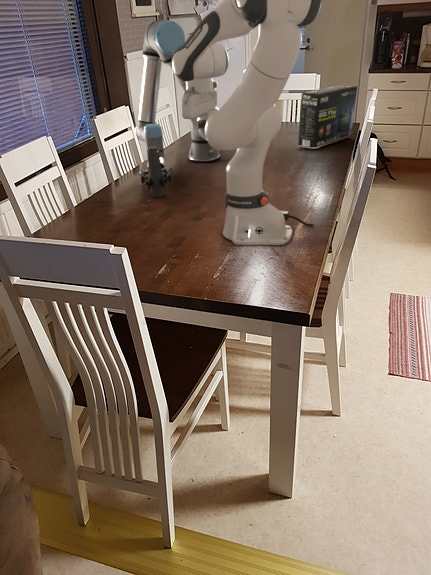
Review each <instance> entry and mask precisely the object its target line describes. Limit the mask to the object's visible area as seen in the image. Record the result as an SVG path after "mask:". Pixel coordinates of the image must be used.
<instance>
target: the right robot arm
mask: <svg viewBox="0 0 431 575" xmlns="http://www.w3.org/2000/svg"><path fill="white" fill-rule="evenodd" d="M321 6H322V0H222V2H220V4H219V5H217V6H216V7H215V8H214V9H213V10H211V11H210V12H209V13H208V14H207V15H206V16H204V18H202V20H201V21H200V23H198V25H197V26H196V28H195V29H194V30H193V31H192V32H190V33H187V34H185V43H184V44H183V45H181V46H179V47H178V48H177V49H176V50H175V52H174V54H173V56H172V69H173V72H174V73H175V75H176V76H177V77H178V78H179V79H180V80H182V81H183V82H186V90H185V93H184V92H183V95H182V96H181V97H182V98H181V116H182V117H181V118H182V119H183V120H190V119H191V121H192V124H193V129H194V130H198V129H199V128H200V127H199V124H198V121H197V120H198V116H200V115H203V120H206V121H207V122H206V125H205V136H206V139H207V141H208V143H209V144H210V146H211V147H212V148H214V149H215V150H218V151H233V150H236V151H235V153H234V155H233V157H232V158H231V159H230V160H229V162H228V163H227V164H226V168H225V177H226V178H225V179H226V180H225V183H226V190H225V194H224V205H225V209H226V210H225V218H224V219H225V220H224V226H223V229H222V235H223V237H225V239H228V240H230V241H232V243H233V244H234V245H236V246H283V245H286V244H288V243H289V242H290V240H291V239H292V237H293V228H292V227H291V225H288V224H286V222H288V220H289V219H293V220H296V221H297V222H299V223H300V224H302V225H304V226H306V227H313V226H314V223H307V222H305V221H303V220H302V219H300V218H299V217H297V216H293V215H291V214H290V211H288V210H279V209H278V208H277V207H276V206H275V205H272V204H271V203H270V202H269V194H270V192H269V191H267V192H266V191H265V190H263V178H264V177H263V176H264V166H265V165H264V164H265V162H266V161H265V160H266V157H267V154H268V151H269V149H270V147H271V144H272V142H273V141H274V140H275V138H276V137H277V136H278V135H279V133H280V131H281V129H282V123H283V122H282V119H283V118H282V115H281V112H280V111H279V108H278V107H276V106H275V104H277V102H278V101H279V99H280V97H281V96H282V93H283V90H284V88H285V87H286V84H287V82H288V80H289V78H290V76H291V74H292V71H293V69H294V67H295V64H296V61H297V59H298V56H299V53H300V50H301V46H302V42H303V34H302V31H301V29H300V27H304V26H309V25H310V24H312V23H313V22H314V20H316V18H317V16H318V14H319V12H320V10H321ZM257 28H258V38H257V41H256V44H255V46H254V48H253V51H252V53H251V55H250V58H249V61H248V63H247V65H246V67H245V70H244V73H243V75H242V78H241V79H240V82H239V83H238V85H237V87H236V88H235V90H234V91H233V93H232V94H231V95H230V96H229V98H228V99H227V100H226V101H225V102H224V104H222V106H221V107H220V108H218V109H219V110H218V111H217V112H216V113H214V114H213V115H211V116H210V117H209V112H210V111H212V110H215V109H216V107H218V90H217V89H218V86H219V85H218V81H216V80H214V79H213V78H220V77H221V76H224V75H225V73H226V72H227V70H228V68H229V63H230V58H229V54H228V51H227V50H226V48H225V47H224V46H223V45H222V44H218V42H221V41H225V40H231V39H235V38H240V37H244V36H247V35H249V34H251V33H252V32H253V31H254V30H256V29H257ZM173 72H172V73H173ZM174 73H173V74H174ZM175 75H174V76H175Z"/></svg>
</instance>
